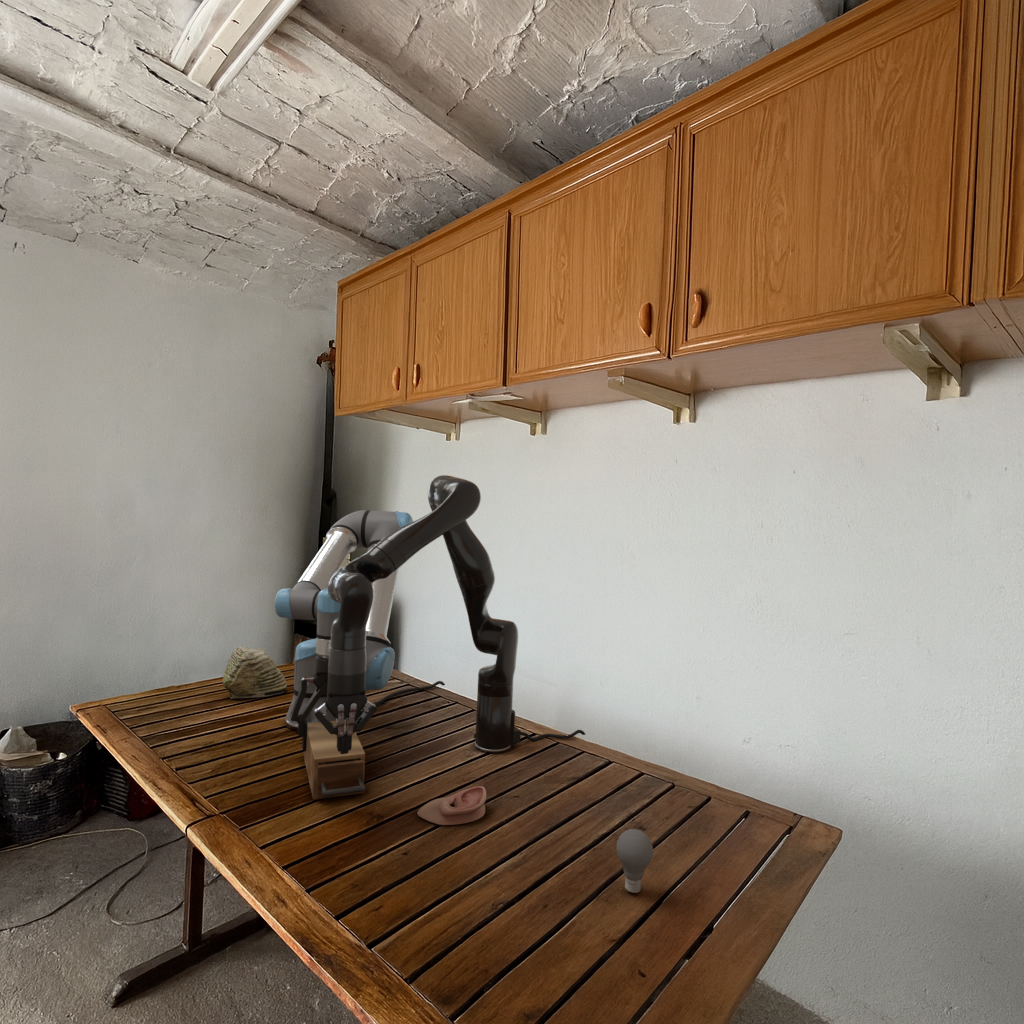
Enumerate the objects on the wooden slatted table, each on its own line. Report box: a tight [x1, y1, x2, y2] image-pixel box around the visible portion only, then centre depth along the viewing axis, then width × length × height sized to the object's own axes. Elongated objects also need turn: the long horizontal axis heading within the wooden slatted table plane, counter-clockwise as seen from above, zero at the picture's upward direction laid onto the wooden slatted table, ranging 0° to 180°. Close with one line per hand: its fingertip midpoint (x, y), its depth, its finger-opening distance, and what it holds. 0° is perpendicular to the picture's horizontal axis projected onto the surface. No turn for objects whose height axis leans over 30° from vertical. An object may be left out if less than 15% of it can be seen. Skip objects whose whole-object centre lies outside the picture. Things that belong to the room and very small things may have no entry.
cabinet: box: [303, 719, 366, 800], centre depth 144 cm, size 22×10×9 cm, turn 23°
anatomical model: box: [416, 785, 488, 826], centre depth 129 cm, size 13×4×12 cm
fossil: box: [222, 646, 288, 699], centre depth 198 cm, size 9×18×15 cm, turn 132°
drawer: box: [316, 759, 366, 800], centre depth 140 cm, size 26×9×7 cm, turn 23°
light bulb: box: [615, 828, 654, 894], centre depth 106 cm, size 6×6×10 cm
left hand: (328, 746), depth 151 cm, fingers closed on cabinet, 10 cm apart
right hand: (343, 752), depth 130 cm, fingers closed
